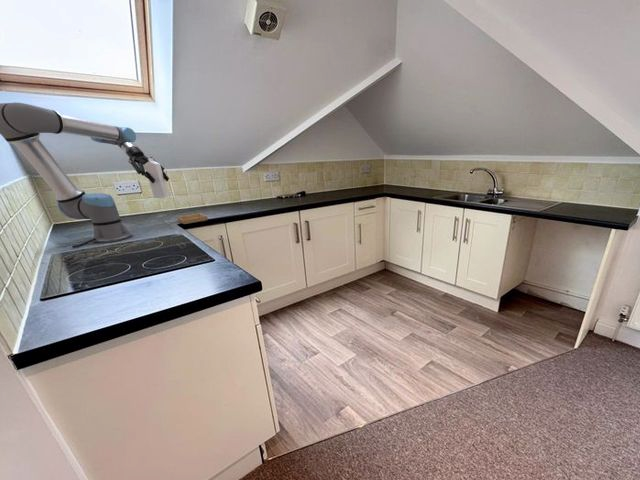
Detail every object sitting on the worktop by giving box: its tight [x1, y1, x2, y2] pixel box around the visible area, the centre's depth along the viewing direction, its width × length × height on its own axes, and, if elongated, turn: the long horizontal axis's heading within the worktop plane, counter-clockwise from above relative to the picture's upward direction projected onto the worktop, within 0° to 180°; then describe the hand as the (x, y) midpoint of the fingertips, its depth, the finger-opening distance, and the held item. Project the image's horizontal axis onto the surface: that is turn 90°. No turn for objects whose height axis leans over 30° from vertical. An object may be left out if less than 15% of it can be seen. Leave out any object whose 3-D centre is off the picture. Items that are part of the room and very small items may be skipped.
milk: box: [143, 157, 170, 199], centre depth 176 cm, size 6×6×22 cm
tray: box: [176, 212, 208, 225], centre depth 194 cm, size 14×13×3 cm
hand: (161, 180), depth 176 cm, fingers closed on milk, 8 cm apart
